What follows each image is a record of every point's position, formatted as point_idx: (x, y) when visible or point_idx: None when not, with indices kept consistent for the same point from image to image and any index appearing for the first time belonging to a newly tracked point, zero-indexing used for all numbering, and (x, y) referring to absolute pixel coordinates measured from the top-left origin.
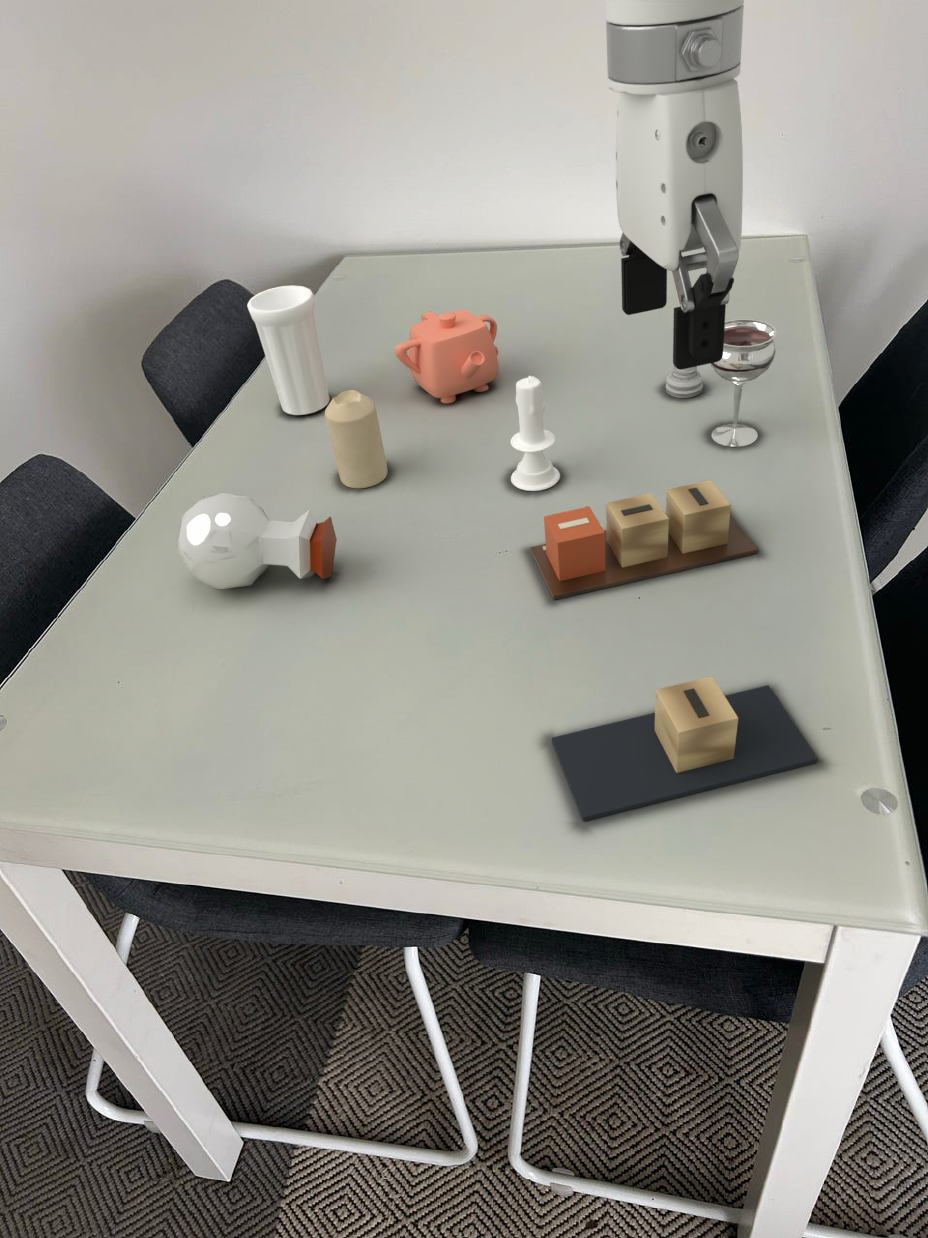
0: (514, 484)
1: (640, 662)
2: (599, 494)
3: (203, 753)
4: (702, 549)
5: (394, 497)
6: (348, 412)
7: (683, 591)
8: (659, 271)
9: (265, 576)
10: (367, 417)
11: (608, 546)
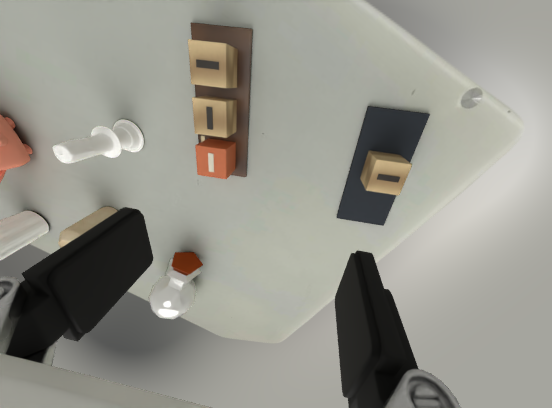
0: (135, 151)
1: (311, 158)
2: (155, 105)
3: (277, 307)
4: (237, 71)
5: None
6: None
7: (268, 105)
8: (90, 263)
9: None
10: None
11: None
